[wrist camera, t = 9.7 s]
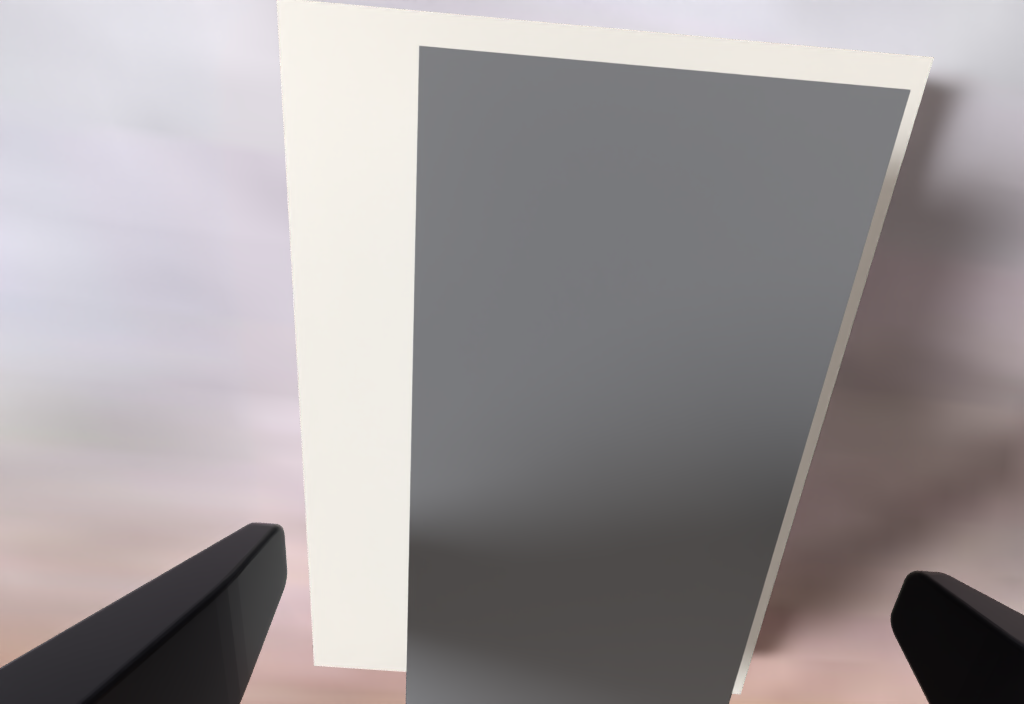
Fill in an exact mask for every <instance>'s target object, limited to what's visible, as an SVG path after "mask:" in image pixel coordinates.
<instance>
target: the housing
mask: <svg viewBox="0 0 1024 704" xmlns="http://www.w3.org/2000/svg"><path fill="white" fill-rule="evenodd" d="M910 91H911V90H909V89H897V88H886V87H875V86H864V85H853V84H842V83H830V82H819V81H808V80H797V79H786V78H775V77H763V76H752V75H741V74H730V73H719V72H708V71H696V70H685V69H674V68H663V67H652V66H641V65H629V64H618V63H607V62H596V61H585V60H574V59H562V58H551V57H540V56H529V55H518V54H506V53H495V52H484V51H473V50H462V49H451V48H439V47H428V46H419V77H418V127H417V176H416V225H415V274H414V323H413V372H412V422H411V471H410V520H409V569H408V618H407V668H406V704H729V701H730V698H731V695H732V691H733V688H734V685H735V681H736V678H737V674H738V671H739V668H740V664H741V661H742V658H743V654H744V651H745V647H746V644H747V641H748V637H749V634H750V631H751V627H752V624H753V621H754V617H755V614H756V610H757V607H758V604H759V600H760V597H761V594H762V590H763V587H764V583H765V580H766V577H767V573H768V570H769V567H770V563H771V560H772V556H773V553H774V550H775V546H776V543H777V540H778V536H779V533H780V529H781V526H782V523H783V519H784V516H785V513H786V509H787V506H788V502H789V499H790V496H791V492H792V489H793V486H794V482H795V479H796V475H797V472H798V469H799V465H800V462H801V459H802V455H803V452H804V448H805V445H806V442H807V438H808V435H809V432H810V428H811V425H812V421H813V418H814V415H815V411H816V408H817V405H818V401H819V398H820V394H821V391H822V388H823V384H824V381H825V378H826V374H827V371H828V367H829V364H830V361H831V357H832V354H833V351H834V347H835V344H836V340H837V337H838V334H839V330H840V327H841V324H842V320H843V317H844V313H845V310H846V307H847V303H848V300H849V297H850V293H851V290H852V286H853V283H854V280H855V276H856V273H857V270H858V266H859V263H860V260H861V256H862V253H863V249H864V246H865V243H866V239H867V236H868V233H869V229H870V226H871V222H872V219H873V216H874V212H875V209H876V206H877V202H878V199H879V195H880V192H881V189H882V185H883V182H884V179H885V175H886V172H887V168H888V165H889V162H890V158H891V155H892V152H893V148H894V145H895V141H896V138H897V135H898V131H899V128H900V125H901V121H902V118H903V114H904V111H905V108H906V104H907V101H908V98H909V94H910Z"/></svg>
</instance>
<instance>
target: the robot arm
mask: <svg viewBox="0 0 1024 704" xmlns="http://www.w3.org/2000/svg"><path fill="white" fill-rule="evenodd" d="M286 579H287V562H286V548H285V535H284V530H283V528H282V527H281V526H280V525H279V524H270V523H250V524H248V525H246V526H245V527H243V528H241V529H239V530H238V531H236V532H234V533H232V534H231V535H229V536H227V537H226V538H224V539H222V540H220V541H219V542H217V543H215V544H214V545H212V546H210V547H208V548H207V549H205V550H203V551H201V552H200V553H198V554H196V555H195V556H193V557H191V558H189V559H188V560H186V561H184V562H182V563H181V564H179V565H177V566H176V567H174V568H172V569H170V570H169V571H167V572H165V573H163V574H162V575H160V576H158V577H157V578H155V579H153V580H151V581H150V582H148V583H146V584H144V585H143V586H141V587H139V588H138V589H136V590H134V591H132V592H131V593H129V594H127V595H125V596H124V597H122V598H120V599H119V600H117V601H115V602H113V603H112V604H110V605H108V606H106V607H105V608H103V609H101V610H100V611H98V612H96V613H94V614H93V615H91V616H89V617H87V618H86V619H84V620H82V621H81V622H79V623H77V624H75V625H74V626H72V627H70V628H68V629H67V630H65V631H63V632H62V633H60V634H58V635H56V636H55V637H53V638H51V639H49V640H48V641H46V642H44V643H43V644H41V645H39V646H37V647H36V648H34V649H32V650H30V651H29V652H27V653H25V654H24V655H22V656H20V657H18V658H17V659H15V660H13V661H11V662H10V663H8V664H6V665H5V666H3V667H1V668H0V704H240V702H241V700H242V697H243V695H244V692H245V690H246V687H247V685H248V682H249V680H250V677H251V675H252V672H253V669H254V667H255V664H256V662H257V659H258V656H259V654H260V651H261V648H262V646H263V643H264V641H265V638H266V635H267V633H268V630H269V627H270V625H271V622H272V620H273V617H274V614H275V612H276V609H277V606H278V604H279V601H280V598H281V596H282V593H283V591H284V588H285V584H286ZM891 626H892V630H893V633H894V635H895V637H896V639H897V641H898V643H899V645H900V647H901V649H902V651H903V653H904V655H905V657H906V659H907V661H908V663H909V665H910V667H911V669H912V671H913V673H914V675H915V677H916V679H917V681H918V683H919V685H920V687H921V689H922V691H923V692H924V694H925V696H926V698H927V700H928V702H929V704H1024V615H1022V614H1020V613H1019V612H1017V611H1015V610H1013V609H1011V608H1009V607H1007V606H1005V605H1004V604H1002V603H1000V602H998V601H996V600H994V599H992V598H990V597H988V596H987V595H985V594H983V593H981V592H979V591H977V590H975V589H973V588H972V587H970V586H968V585H966V584H964V583H962V582H960V581H958V580H956V579H955V578H953V577H951V576H949V575H947V574H944V573H940V572H928V571H913V572H911V573H910V574H908V575H907V576H906V578H905V580H904V583H903V585H902V588H901V590H900V593H899V595H898V598H897V600H896V602H895V605H894V607H893V610H892V613H891Z"/></svg>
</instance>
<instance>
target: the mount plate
mask: <svg viewBox="0 0 1024 704" xmlns="http://www.w3.org/2000/svg"><path fill="white" fill-rule="evenodd" d="M276 1H277V18H278V36H279V54H280V71H281V89H282V107H283V124H284V142H285V160H286V177H287V195H288V213H289V231H290V248H291V266H292V284H293V301H294V319H295V337H296V354H297V372H298V390H299V407H300V425H301V443H302V460H303V478H304V496H305V513H306V531H307V549H308V566H309V584H310V602H311V619H312V637H313V655H314V666H327V667H342V668H357V669H371V670H386V671H401V672H406V668H407V618H408V569H409V520H410V471H411V422H412V372H413V323H414V274H415V225H416V176H417V127H418V77H419V46H428V47H439V48H451V49H462V50H473V51H484V52H495V53H506V54H518V55H529V56H540V57H551V58H562V59H574V60H585V61H596V62H607V63H618V64H629V65H641V66H652V67H663V68H674V69H685V70H696V71H708V72H719V73H730V74H741V75H752V76H763V77H775V78H786V79H797V80H808V81H819V82H830V83H842V84H853V85H864V86H875V87H886V88H897V89H909V90H911V91H910V94H909V98H908V101H907V104H906V108H905V111H904V114H903V118H902V121H901V125H900V128H899V131H898V135H897V138H896V141H895V145H894V148H893V152H892V155H891V158H890V162H889V165H888V168H887V172H886V175H885V179H884V182H883V185H882V189H881V192H880V195H879V199H878V202H877V206H876V209H875V212H874V216H873V219H872V222H871V226H870V229H869V233H868V236H867V239H866V243H865V246H864V249H863V253H862V256H861V260H860V263H859V266H858V270H857V273H856V276H855V280H854V283H853V286H852V290H851V293H850V297H849V300H848V303H847V307H846V310H845V313H844V317H843V320H842V324H841V327H840V330H839V334H838V337H837V340H836V344H835V347H834V351H833V354H832V357H831V361H830V364H829V367H828V371H827V374H826V378H825V381H824V384H823V388H822V391H821V394H820V398H819V401H818V405H817V408H816V411H815V415H814V418H813V421H812V425H811V428H810V432H809V435H808V438H807V442H806V445H805V448H804V452H803V455H802V459H801V462H800V465H799V469H798V472H797V475H796V479H795V482H794V486H793V489H792V492H791V496H790V499H789V502H788V506H787V509H786V513H785V516H784V519H783V523H782V526H781V529H780V533H779V536H778V540H777V543H776V546H775V550H774V553H773V556H772V560H771V563H770V567H769V570H768V573H767V577H766V580H765V583H764V587H763V590H762V594H761V597H760V600H759V604H758V607H757V610H756V614H755V617H754V621H753V624H752V627H751V631H750V634H749V637H748V641H747V644H746V647H745V651H744V654H743V658H742V661H741V664H740V668H739V671H738V674H737V678H736V681H735V685H734V688H733V691H732V694H741V691H742V688H743V685H744V682H745V678H746V675H747V672H748V668H749V665H750V662H751V658H752V655H753V652H754V649H755V645H756V642H757V639H758V635H759V632H760V629H761V626H762V622H763V619H764V616H765V612H766V609H767V606H768V602H769V599H770V596H771V593H772V589H773V586H774V583H775V579H776V576H777V573H778V570H779V566H780V563H781V560H782V556H783V553H784V550H785V546H786V543H787V540H788V537H789V533H790V530H791V527H792V523H793V520H794V517H795V514H796V510H797V507H798V504H799V500H800V497H801V494H802V490H803V487H804V484H805V481H806V477H807V474H808V471H809V467H810V464H811V461H812V458H813V454H814V451H815V448H816V444H817V441H818V438H819V434H820V431H821V428H822V425H823V421H824V418H825V415H826V411H827V408H828V405H829V402H830V398H831V395H832V392H833V388H834V385H835V382H836V378H837V375H838V372H839V369H840V365H841V362H842V359H843V355H844V352H845V349H846V346H847V342H848V339H849V336H850V332H851V329H852V326H853V322H854V319H855V316H856V313H857V309H858V306H859V303H860V299H861V296H862V293H863V290H864V286H865V283H866V280H867V276H868V273H869V270H870V266H871V263H872V260H873V257H874V253H875V250H876V247H877V243H878V240H879V237H880V234H881V230H882V227H883V224H884V220H885V217H886V214H887V210H888V207H889V204H890V201H891V197H892V194H893V191H894V187H895V184H896V181H897V178H898V174H899V171H900V168H901V164H902V161H903V158H904V154H905V151H906V148H907V145H908V141H909V138H910V135H911V131H912V128H913V125H914V122H915V118H916V115H917V112H918V108H919V105H920V102H921V98H922V95H923V92H924V89H925V85H926V82H927V79H928V75H929V72H930V69H931V66H932V62H933V59H934V57H924V56H913V55H902V54H891V53H880V52H869V51H858V50H847V49H836V48H825V47H814V46H803V45H792V44H781V43H770V42H759V41H747V40H736V39H725V38H714V37H703V36H692V35H681V34H670V33H659V32H648V31H637V30H626V29H615V28H604V27H593V26H582V25H571V24H559V23H548V22H537V21H526V20H515V19H504V18H493V17H482V16H471V15H460V14H449V13H438V12H427V11H416V10H405V9H394V8H383V7H371V6H360V5H349V4H338V3H327V2H316V1H305V0H276Z"/></svg>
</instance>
